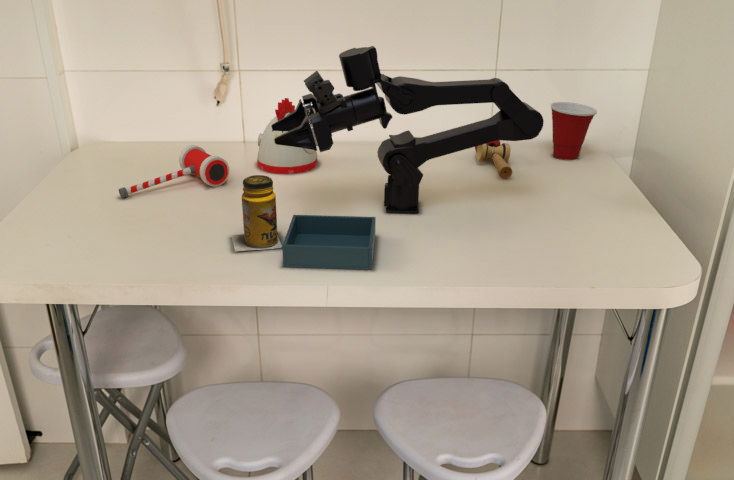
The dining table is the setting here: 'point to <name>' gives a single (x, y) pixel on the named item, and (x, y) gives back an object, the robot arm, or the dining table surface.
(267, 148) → the kitchen timer
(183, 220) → the dining table surface
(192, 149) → the toy hammer
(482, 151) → the kendama
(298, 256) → the tote
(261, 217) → the condiment
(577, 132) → the plastic cup
